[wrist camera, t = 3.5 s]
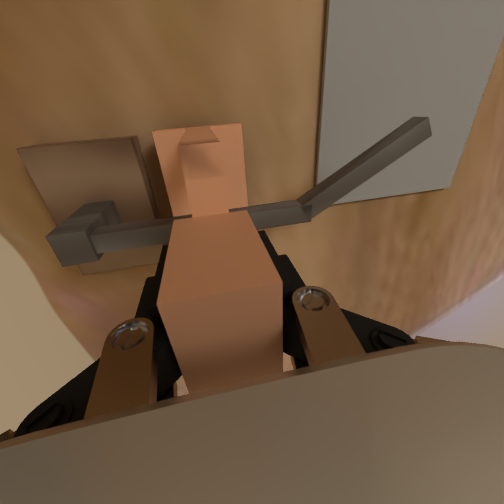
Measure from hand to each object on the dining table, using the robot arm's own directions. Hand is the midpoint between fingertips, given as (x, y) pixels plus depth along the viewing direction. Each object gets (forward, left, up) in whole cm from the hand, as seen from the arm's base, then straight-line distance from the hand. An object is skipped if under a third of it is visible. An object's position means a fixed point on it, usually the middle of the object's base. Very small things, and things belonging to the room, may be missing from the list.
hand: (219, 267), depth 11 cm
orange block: (0, 0, -11) cm, 11 cm away
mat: (-6, +17, -12) cm, 22 cm away
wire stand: (0, +1, -12) cm, 12 cm away
